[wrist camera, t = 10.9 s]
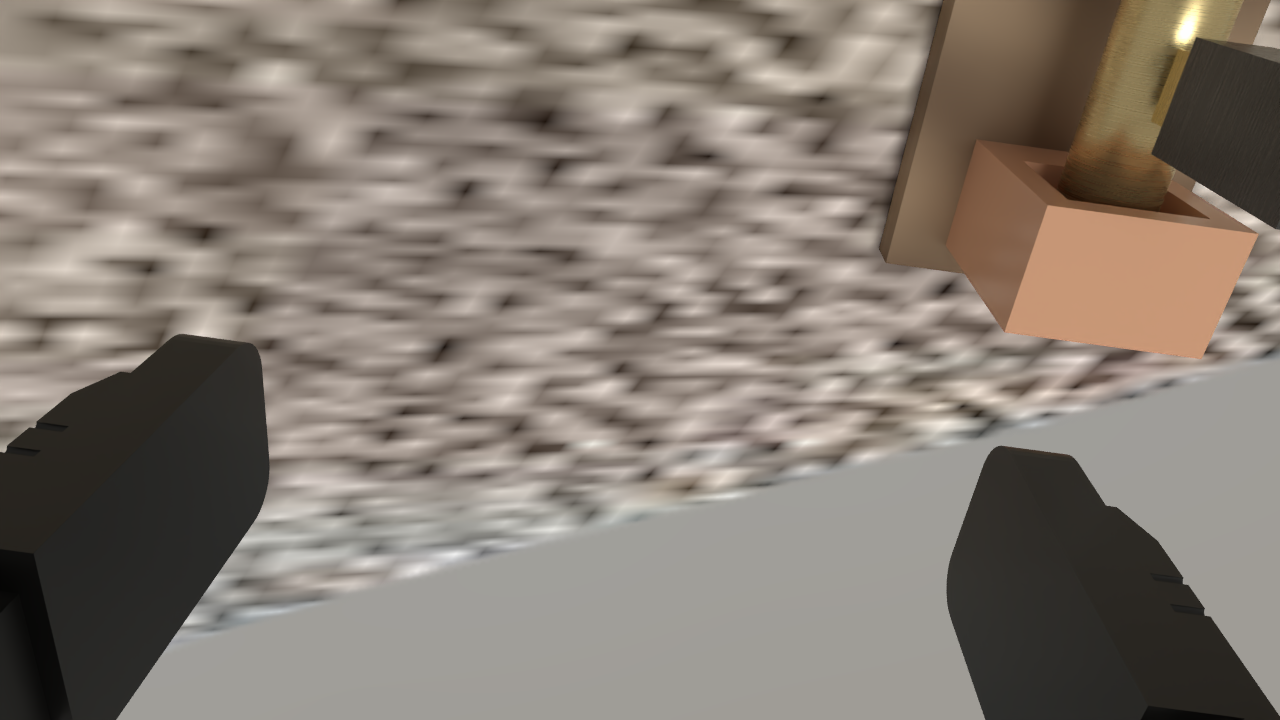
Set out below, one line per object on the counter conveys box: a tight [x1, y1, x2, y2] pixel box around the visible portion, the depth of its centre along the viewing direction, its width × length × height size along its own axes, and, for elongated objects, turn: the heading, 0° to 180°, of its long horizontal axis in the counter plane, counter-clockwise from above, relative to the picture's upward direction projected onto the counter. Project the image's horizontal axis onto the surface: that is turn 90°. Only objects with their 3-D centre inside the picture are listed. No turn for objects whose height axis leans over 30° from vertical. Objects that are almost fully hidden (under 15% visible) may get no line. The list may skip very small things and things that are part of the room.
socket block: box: [946, 139, 1258, 359], centre depth 30 cm, size 4×6×8 cm, turn 83°
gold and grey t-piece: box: [1056, 0, 1280, 229], centre depth 23 cm, size 13×3×11 cm, turn 173°
